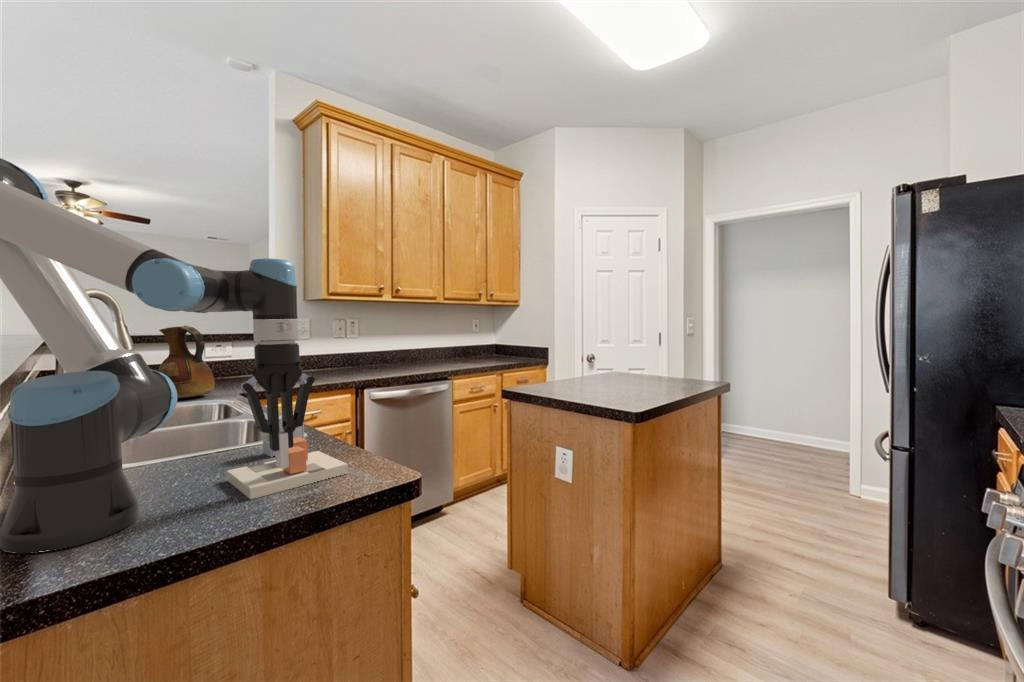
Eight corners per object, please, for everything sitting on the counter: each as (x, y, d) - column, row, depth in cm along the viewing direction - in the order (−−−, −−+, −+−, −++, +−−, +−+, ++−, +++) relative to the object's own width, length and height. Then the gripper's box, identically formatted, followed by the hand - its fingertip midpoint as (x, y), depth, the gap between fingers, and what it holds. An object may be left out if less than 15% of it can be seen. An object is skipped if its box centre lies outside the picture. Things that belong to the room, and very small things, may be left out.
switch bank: (250, 499, 80) (250, 487, 80) (227, 480, 90) (226, 470, 90) (347, 473, 93) (347, 463, 93) (318, 459, 103) (318, 450, 103)
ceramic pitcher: (178, 394, 197) (175, 325, 196) (225, 393, 198) (222, 324, 196) (143, 402, 177) (139, 326, 176) (195, 402, 178) (192, 325, 177)
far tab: (293, 462, 93) (292, 443, 93) (285, 458, 96) (285, 439, 96) (307, 459, 96) (307, 440, 95) (300, 455, 98) (299, 436, 98)
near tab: (290, 474, 86) (289, 453, 86) (282, 469, 89) (281, 449, 89) (306, 470, 88) (305, 449, 88) (298, 465, 91) (297, 446, 91)
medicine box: (296, 447, 113) (295, 412, 113) (305, 450, 110) (304, 414, 110) (262, 454, 107) (261, 418, 107) (271, 458, 104) (269, 420, 104)
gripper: (244, 345, 78) (251, 479, 80) (319, 341, 88) (325, 461, 89) (231, 344, 84) (238, 470, 85) (304, 340, 93) (309, 454, 94)
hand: (282, 466), depth 87 cm, fingers closed
